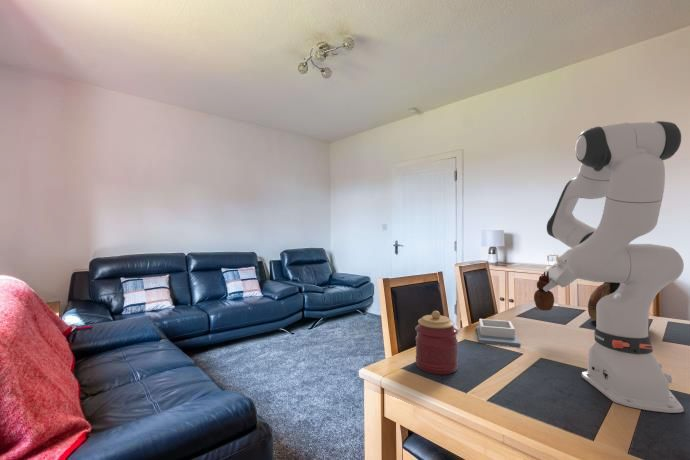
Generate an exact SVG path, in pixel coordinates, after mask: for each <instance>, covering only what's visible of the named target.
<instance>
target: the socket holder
mask: <svg viewBox="0 0 690 460" xmlns="http://www.w3.org/2000/svg"><path fill="white" fill-rule="evenodd" d="M478 322H479V323H478V325H476V333H477V337H478V338H477V339H478V343H479V342H483V343H482V344H487V343H493V344H492V345H497V344H500V345H501V346H507V345H509V346H510V347H517V348H518V347H520V348H521V341H520V340H519V338H518V336H517V334H516V331H515V330H516V329H515V326H514V325H513V323H512V321H511V320H503V319H502V320H500V319H486V318H485V319H484V318H479V321H478ZM500 345H499V346H500Z"/></svg>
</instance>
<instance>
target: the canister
mask: <svg viewBox="0 0 690 460" xmlns="http://www.w3.org/2000/svg"><path fill="white" fill-rule="evenodd" d="M417 323H418V324H417V325H416V326H415V331H416V336H415V351H416V352H415V362H416V363H415V364H416V366H417V368H419V370H422V372H426V373H429V374H433V375H449V374H453V373H454V372H456V371H457V370H458V366H459V363H458V362H459V360H458V343H459V342H458V339H457V334H458V333H459V332H458V329H457V328H456V327H455V324H456V323H455V321H453V320H452V319H450V317H448V316H445V315H441V313H440V312H439V311H438V310H433V311H432V312H431V314H426V315H423V316H422V317H421V318H419V319H418V320H417Z"/></svg>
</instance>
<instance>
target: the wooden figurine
mask: <svg viewBox="0 0 690 460" xmlns="http://www.w3.org/2000/svg"><path fill="white" fill-rule="evenodd" d="M543 273H544V275H543ZM543 273H541V275H539V278H538V281H537V282H536V288H537V290H536V291H534V296H533V302H534V304H535V306H536V308H537V309H539V310H541V311H548V312H549V311H551V310H552V309H553V307H554V303H555V297H554V293H553V292H552V291H550V290H549V291H547V292H546V291H544V290H543V289H542V288H543V287H544V286H545V285H547V284H548V283H550V282H549V271H548V272H547V275H545V271H544V272H543Z"/></svg>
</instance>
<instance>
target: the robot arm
mask: <svg viewBox="0 0 690 460" xmlns="http://www.w3.org/2000/svg"><path fill="white" fill-rule="evenodd" d="M681 142H682V133H681V130H680V128H679V126H677V124H676V123H674V122H672V121H671V122H670V121H663V120H659V121H658V120H656V121H653V122H632V123H631V122H623V123H614V124H609V125H605V126H599V125H598V126H594V127H591V128H587V129H585V130H583V131H582V132H581V133H580V134H579V136H578V137H577V139H576V143H575V147H574V148H575V156H576V159H577V161H578V162H580V163H581V164H580V166H579V169H578V172H577V173H578V174H577V176H576V177H574V178H571V179H570V180H569V181H568V182H567V183H566V185H565V186H564V187H563V190H562V192H561V193H560V196H559V199H558V202H557V204H556V206H555V208H554V212H553V213H552V215H551V216H550V218H549V219H548V221H547V223H546V232H547V234H548V235H549V236H550V237H552V238H554V239H556V240H558V241H560V242H561V243H563V244H564V245H565V246H567V247H569V249H567V250H566V251H565V252H564V253H562V255H560V256H559V257H558V258H557V260H558V262H556V263H553V265H552V266H550V267H549V268H548V269H547V270H545V271H544V272H545V275H547V272H548V271H549V282H550V283H548V284H547V285H545V286H544V287H543V288H542V289H543V290H544V291H546V292H547V291H550V290H552V289H554V288H556V287H557V286H559V287H561V288H566V287H567V286H569V285H570V284H571V283H573V282H575V281H576V280H577V279H579V280H583V281H587V282H588V281H590V282H594V283H595V282H596V283H604V282H615V283H620V286H619V288H618V289H617V290H616V291H615V292H614V293H612V294H610V295H607V296H604V297H602V298H601V299H600V300H599V301H598V303H597V305H596V320H595V321H596V327H594V332H593V335H594V341H595V342H594V343H593V345H592V346H591V347H590V348H588V355H587V356H588V357H587V368H586V369H587V370H585V371H582V372H581V377H582V378H583V379H584V380H585V381H586V382H588V383H589V384H590V385H591V386H593V387H594V388H596V389H597V390H598V391H599V392H601V393H602V394H603V395H604V396H605V397H607V398H608V399H610V401H612V402H614V403H616V404H620V405H622V406H627V407H630V408H633V409H634V408H635V409H640V410H644V411H651V412H660V413H672V414H673V413H674V414H675V413H683V412H684V407H683V405H682V404H681V403H680V401H679V400H678V398H677V397H676V396H675V395H674V394H673V393H672V392H671V390H670V388H669V387H670V385H669V384H672V382H673V378H672V377H673V376H672V375H671V374H670V373H668V372H666V373H665V372H664V371H663V369H662V366H663V365H662V363H659V362H658V361H657V360H656V357H655V356H654V354H653V351H654V350H653V349H654V348H653V346H652V345H653V342H652V339H651V337H650V335H649V316H650V309H651V305H652V303H653V301H654V300H655V298H656V296H657V295H658V293H660V291H662V290H663V289H664V288H665V287H666V286H668V285H669V284H671V283H674V282H675V281H677V280H678V279H679V278H680V276H681V275H682V274H683V272H684V265H685V264H684V260H683V257H682V256H681V255H680V253H679V252H678V251H677V250H676V249H675V248H673V247H672V246H665V245H658V244H653V243H631V242H633V241H634V240H636V239H638V238H640V237H642V236H645V235H648V233H651V232H653V230H654V229H655V228H656V227H657V225H658V222H659V221H658V220H659V216H660V213H661V212H660V211H661V207H662V203H663V198H664V194H665V193H664V192H665V182H666V170H665V169H666V168H665V162H664V161H665V160H668V159H671V158H672V157H673V156H674V155H675V154H676V153H677V151H678V150H679V148H680V146H681V144H682V143H681ZM602 198H605V200H604V201H605V202H604V206H603V210H602V216H601V219H600V222H599V224H598V226H597V227H596V228H595V227H593V226H591V225H588V224H586V223H585V222H582V221H581V220H579V219H578V218H576V217H575V216H574V213H573V212H574V210H575V207H576V205H577V203H578V201H579V199H585V200H597V199H602ZM544 272H543V273H542V274H543V275H544Z"/></svg>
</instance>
